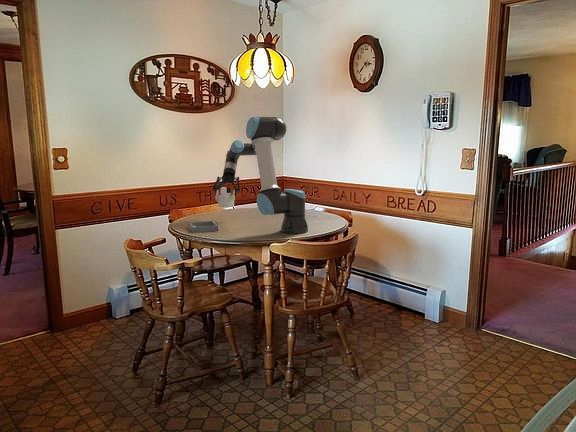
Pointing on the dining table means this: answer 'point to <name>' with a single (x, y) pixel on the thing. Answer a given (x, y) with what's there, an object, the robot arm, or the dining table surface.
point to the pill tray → (203, 226)
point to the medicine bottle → (225, 198)
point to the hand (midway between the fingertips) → (224, 199)
